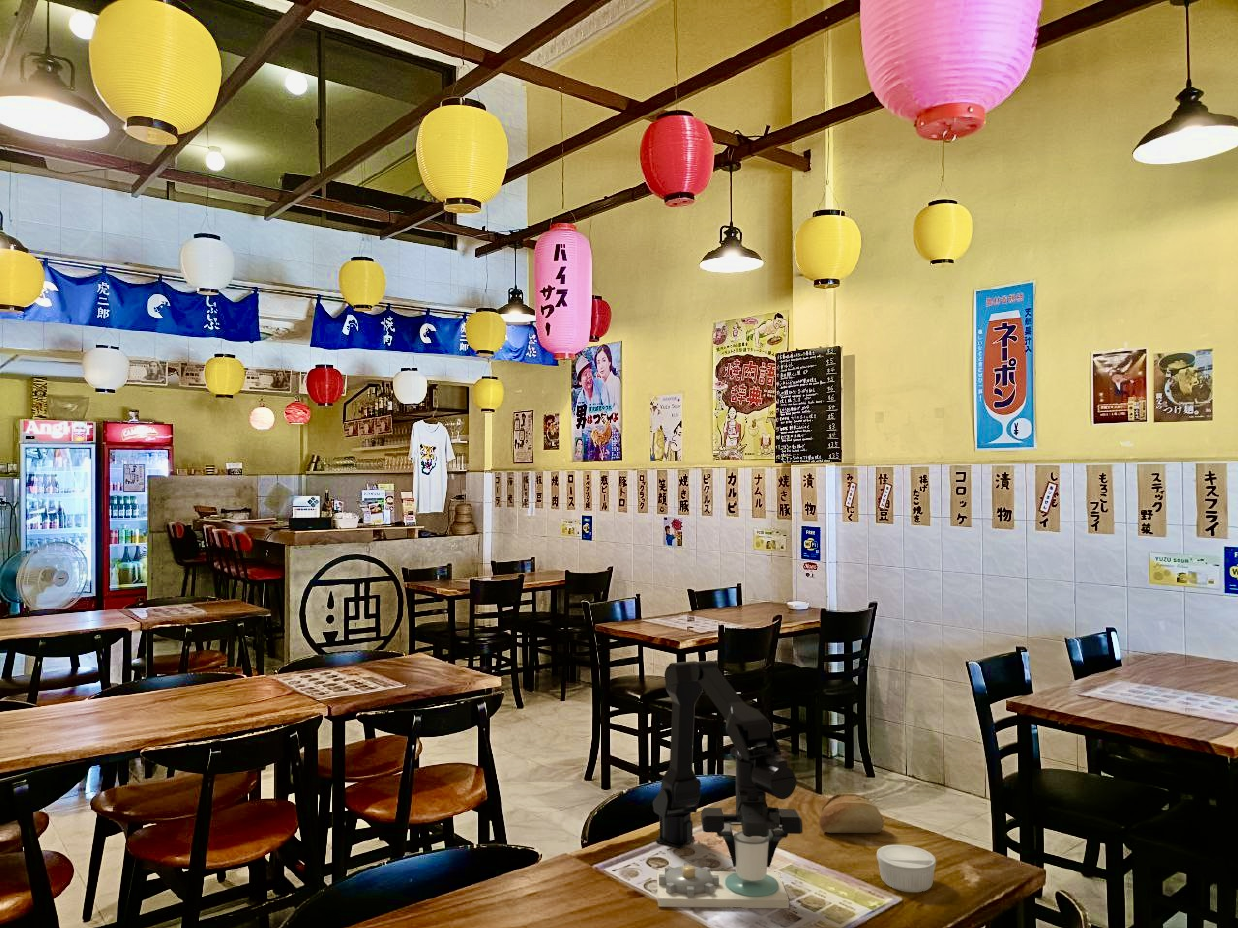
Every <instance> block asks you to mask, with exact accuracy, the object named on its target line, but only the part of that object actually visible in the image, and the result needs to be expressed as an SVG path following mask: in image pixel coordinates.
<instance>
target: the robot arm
mask: <svg viewBox="0 0 1238 928" xmlns="http://www.w3.org/2000/svg"><path fill="white" fill-rule="evenodd" d="M719 668H720V667H719V664H718V663H717V662H716V661H713V660H704V661H703V660H702V661H697V660H696V661H695V660H692V661H691V660H690V661H681V662H671V663H669V664H668V666H666V668H665V670H664V674H663V675H664V681H665V690H666V692H667V695H668V696H669V697H670V700H671V702H672V703H671V704H672V705H671V706H672V707H671V726H670V730H671V731H670V732H671V733H670V752H669V766H668V769H667V770H666V772H665V773H664V775H663V776H662V778H661V784H660V790H659V791H658V794H657V795H656V796H655V798H654V799H653V800H652V808H653V812H654V813H655V814H656V815H658V816H659V837H657V838H656V839H655V842H656V843H659V844H662V845H663V844H664V845H667V846H669V847H670V846H671V847H674V848H678V849H679V848H680V849H681V848H682V849H683V847H685V846H686V845H688V844H689V843H691V842H693V841H694V840H695V836H693V828H694V827H693V820H692V818H691V817H692V814H691V813H697V811H698V807H699V802H700V798H702V796H701V795H702V794H701V787H702V786H701V785H702V782H701V780H700V779H699V778H698V777H697V776H696V774H695V772H694V770H693V757H694V755H693V754H694V733H695V709H696V708H695V707H696V703H697V701H698V700H699V698H700V696H701V695H702V693H703V691H704V692H705V693H706V695H707V696H708V697H709V699H710V700H711V701H712V703H713V704H714V705H715V707H716V708H717V710H718V712H720V714H721V715H722V717H723V719H724V720H725V732H726V734H727V736H728V737H729V738H730V741H731V743H732V744H733V745H734V746H733V747H732V748H730V750H729V754H730V755H732V756H734V757H735V814H733V813H731V814H730V813H727V814H726V813H723V809H722V807H703V809H702V810H701V813H700V814H701V815H700V817H701V818H700V819H701V820H700V822H701V827H702V831H703V832H704V833H707V834H708V833H716V835H717V837H720V838H721V837H722V838H723V841H725V843H726V846H727V849H728V852H729V856H730V859H731V862H732V866H733V867H734V868H736V857H735V849H734V841H733V835H734V833H733V829H732V826H741V831H742V832H743V835H744V836H746V837H752V836H761V837H767V836H768V837H769V848H768V860H767V868H770V867H771V864H772V861H773V858H774V854H775V851H776V849H777V847H778V845H779V843H780V842H781V840H782V839H784V838H788V837H789V835H792V834H793V835H797V834H798V835H800V834H803V820H802V817H801V815H800V814H799V812H798V810H797V809H795V808H779V807H773V806H768V803H767V794H768V795H771V796H772V797H774V798H777V799H779V800H786V799H788V798H790V797H791V796H792V795H793V793H794V791H795V790H796V786H797V778H796V775H795V772H794V771H793V770H792V768H790V767H788V761H787V759H786V758H785V759H784V758H780V757H779V756H782V751H781V749H780V743H779V741H778V740H777V737H776V736H775V734H774V731H773V728H772V726H771V724H770V721H769V720H768V718H767V717H766V716H765V715H764V714H762V712H760V711H759V709H757V708H755V707H752V706H751V705H748V704H747V703H746V702H744V700H743V699H742V698H741V696H739V694H738V693H737V691H736V690H735V689H734V688H733V686H732V685H731V683H729V681H728V680H727V679H726V677H725V676H724V674H723V673H722V672H721V671H720V669H719ZM764 746H766V747H764ZM757 747H761V748H757Z"/></svg>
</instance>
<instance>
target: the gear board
mask: <svg viewBox="0 0 1238 928" xmlns="http://www.w3.org/2000/svg"><path fill="white" fill-rule="evenodd" d="M656 891H657V906H658V907H661V908H662V907H663V908H666V907H668V908H670V907H671V908H672V907H673V908H724V907H725V908H727V907H730V908H731V909H733V907H742V908H743V909H745V908H746V909H790V899H789V897H788V894H787V892H786V888H785V886H784V883H783V881H782V879H781V875H780V873H779V872H778V871H767V873H766V877H765V878H764V879H762V880H757V881H750V880H745V879H742V878H740V877H739V876H737V873H736V871H732V870H731V871H726V870H725V871H723V870H722V871H720V870H715V871H714V870H712V871H711V867H707V866H704V867H699V866H693V865H691V863H683V865H682V866H677V867H672V866H666V867H664V870H656Z"/></svg>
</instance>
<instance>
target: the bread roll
mask: <svg viewBox="0 0 1238 928" xmlns="http://www.w3.org/2000/svg"><path fill="white" fill-rule="evenodd" d="M819 817H820V818H819V827H820V829H821V830H822V831H823V832H826V833H829V834H841V833H842V834H878V833H880V832H881V831H882V830H883V829H884V827H885V820H884V818H883V815H882V813H881V812H880V810H879V808H878V807H877V805H876V804H875V803H874V802H873V801H871V800H870V799H869V797H865V796H864V795H860V794H857V793H841V794H840V793H838V794H836V795H833V796H831V797H830V798H829V799H828V800H827V801H826V803H825V804H824V805H823V807H822V808H821V812H820V816H819Z"/></svg>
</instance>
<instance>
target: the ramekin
mask: <svg viewBox="0 0 1238 928" xmlns="http://www.w3.org/2000/svg"><path fill="white" fill-rule="evenodd" d="M876 859H877V862H878V867H879V873H880V877H881V879H882V881H883V882H884V884H885V885H887V886H888V887H889V888H891V887H892V889H894V890H896V891H897V890H898V891H900V892H905V893H922V891H923V892H925V891H929V889H930V888H931V887H932V885H933V883H934V877H935V876H934V875H935V870H936V869H935V868H936V866H937V859H936V857H935V855H933V854H932V853H931V852H930V851H927V850H925V849H923V848H921V847H917V846H913V845H907V844H887V845H884V846H881V847H880V848H878V849H877V850H876Z"/></svg>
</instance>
